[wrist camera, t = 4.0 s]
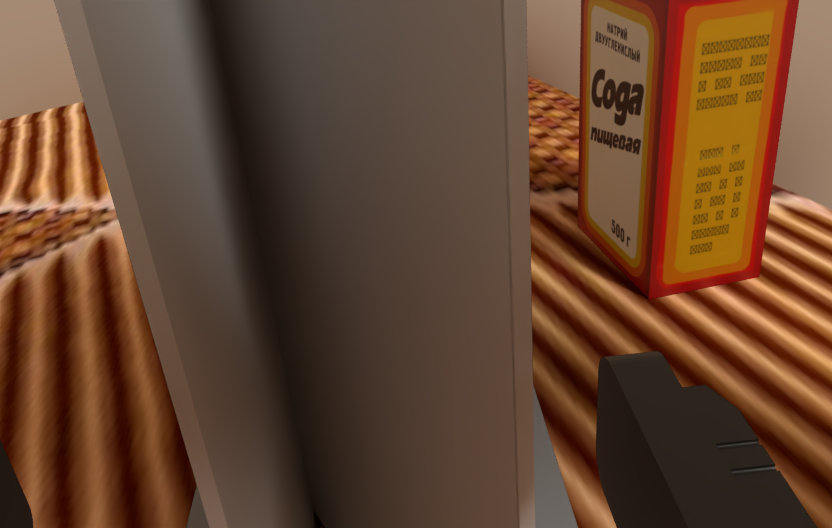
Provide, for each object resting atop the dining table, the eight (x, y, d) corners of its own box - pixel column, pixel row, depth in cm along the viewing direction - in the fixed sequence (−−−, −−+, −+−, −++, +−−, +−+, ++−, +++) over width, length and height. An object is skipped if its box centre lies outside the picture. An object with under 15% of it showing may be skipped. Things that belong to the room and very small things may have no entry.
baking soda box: (577, 225, 51) (581, -40, 43) (671, 208, 52) (692, -54, 44) (648, 299, 42) (669, -13, 35) (759, 276, 43) (803, -31, 36)
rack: (478, 292, 44) (473, 193, 42) (614, 818, 21) (624, 675, 18) (282, 312, 44) (263, 215, 41) (194, 866, 21) (135, 731, 18)
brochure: (305, 495, 32) (98, -505, 17) (440, 472, 32) (347, -520, 18) (322, 913, 20) (-347, -1350, 5) (540, 864, 20) (503, -1318, 6)
